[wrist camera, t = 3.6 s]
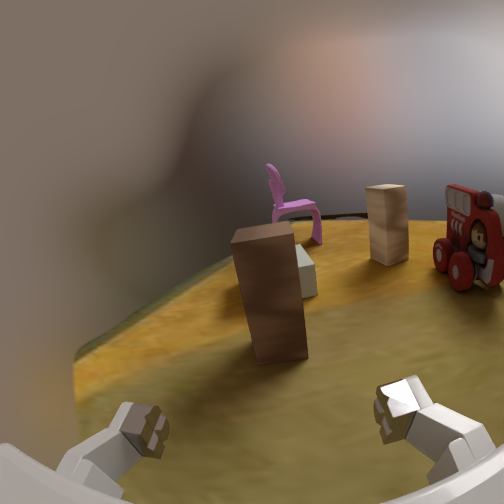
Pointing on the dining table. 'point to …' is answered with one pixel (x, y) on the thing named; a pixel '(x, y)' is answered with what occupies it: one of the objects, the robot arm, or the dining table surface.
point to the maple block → (388, 223)
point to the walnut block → (271, 291)
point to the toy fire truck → (470, 239)
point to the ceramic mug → (499, 208)
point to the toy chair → (292, 204)
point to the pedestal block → (306, 273)
